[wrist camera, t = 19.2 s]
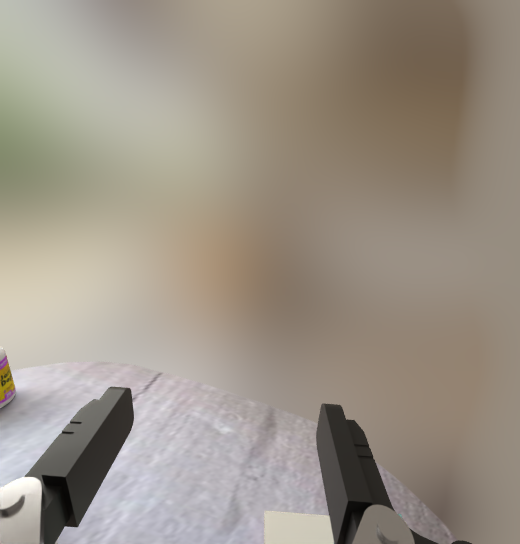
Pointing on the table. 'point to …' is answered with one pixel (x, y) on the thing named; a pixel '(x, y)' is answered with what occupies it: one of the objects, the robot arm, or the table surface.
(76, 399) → the table surface
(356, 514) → the robot arm
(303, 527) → the stub base
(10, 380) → the supplement bottle
